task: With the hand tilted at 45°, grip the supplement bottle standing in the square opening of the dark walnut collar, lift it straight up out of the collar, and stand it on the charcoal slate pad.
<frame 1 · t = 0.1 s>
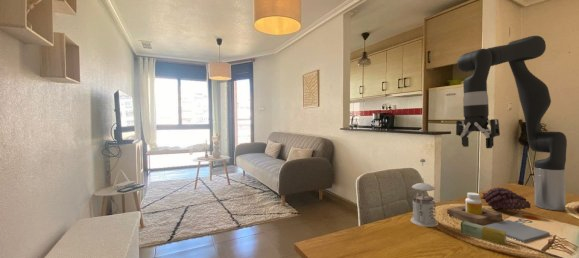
hand: (476, 147, 93), 29 cm above the table, tool pointing down, fingers open, 8 cm apart
pine cone: (503, 211, 105), on the table
slate pad: (514, 231, 86), on the table
medication box: (482, 238, 83), on the table
french press: (423, 222, 97), on the table
walnut collar: (473, 217, 100), on the table
supplement bottle: (473, 218, 100), resting in walnut collar
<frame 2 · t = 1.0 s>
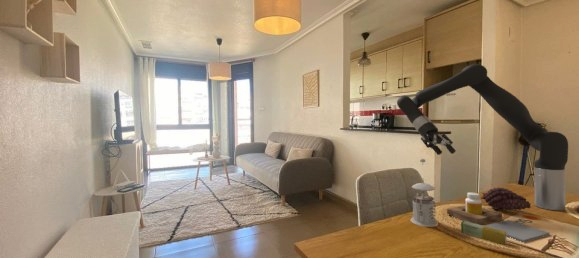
hand: (447, 153, 109), 25 cm above the table, tool tilted 45°, fingers open, 8 cm apart
nothing on the table moved.
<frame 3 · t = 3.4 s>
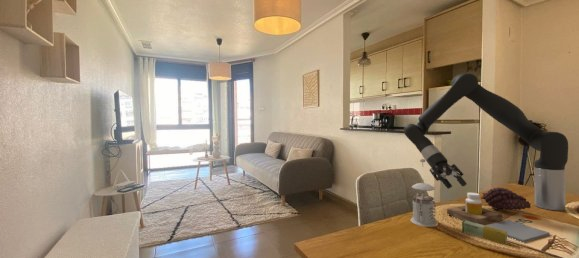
hand: (457, 186, 106), 11 cm above the table, tool tilted 45°, fingers open, 8 cm apart
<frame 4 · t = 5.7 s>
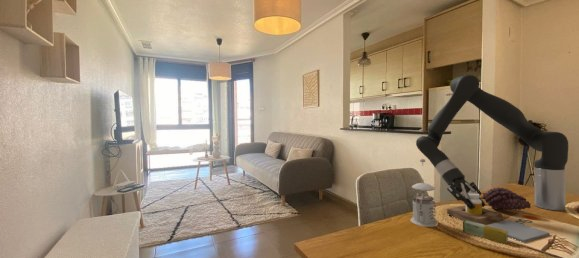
hand: (478, 207, 98), 5 cm above the table, tool tilted 45°, fingers closed on supplement bottle, 5 cm apart
supplement bottle: (473, 217, 100), resting in walnut collar, touching gripper
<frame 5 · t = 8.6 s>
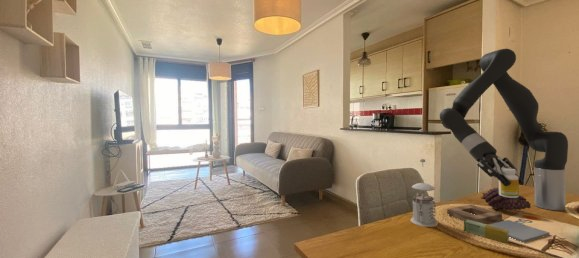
hand: (514, 183, 86), 17 cm above the table, tool tilted 45°, fingers closed on supplement bottle, 5 cm apart
supplement bottle: (508, 196, 88), point 12 cm above the table, touching gripper
when the fingers open (7 cm above the table, at t = 11.7 s): supplement bottle drops 1 cm, resting on slate pad.
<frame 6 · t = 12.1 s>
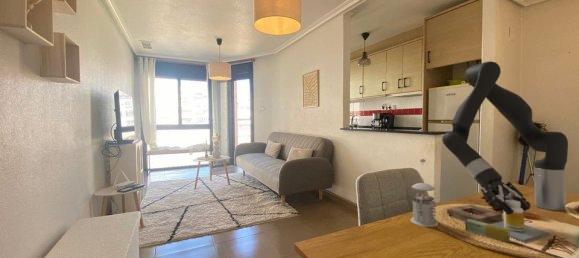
hand: (519, 211, 85), 7 cm above the table, tool tilted 45°, fingers open, 8 cm apart
supplement bottle: (513, 229, 86), point 1 cm above the table, touching slate pad
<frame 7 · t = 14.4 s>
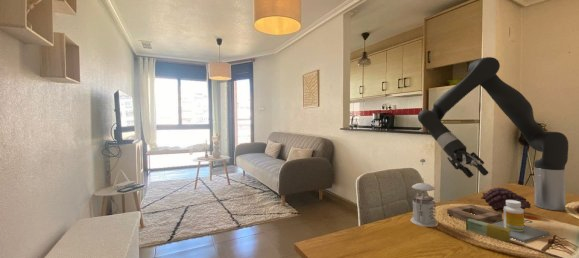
hand: (479, 175, 97), 18 cm above the table, tool tilted 45°, fingers open, 8 cm apart
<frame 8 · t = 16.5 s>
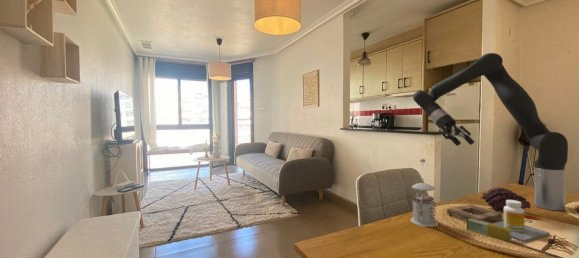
hand: (466, 144, 111), 29 cm above the table, tool tilted 45°, fingers open, 8 cm apart
at the end: supplement bottle inside the target area on the slate pad (0.2 cm from its centre), point 0.6 cm above the slate pad's base; supplement bottle tilted 0°; the gripper is holding nothing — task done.
